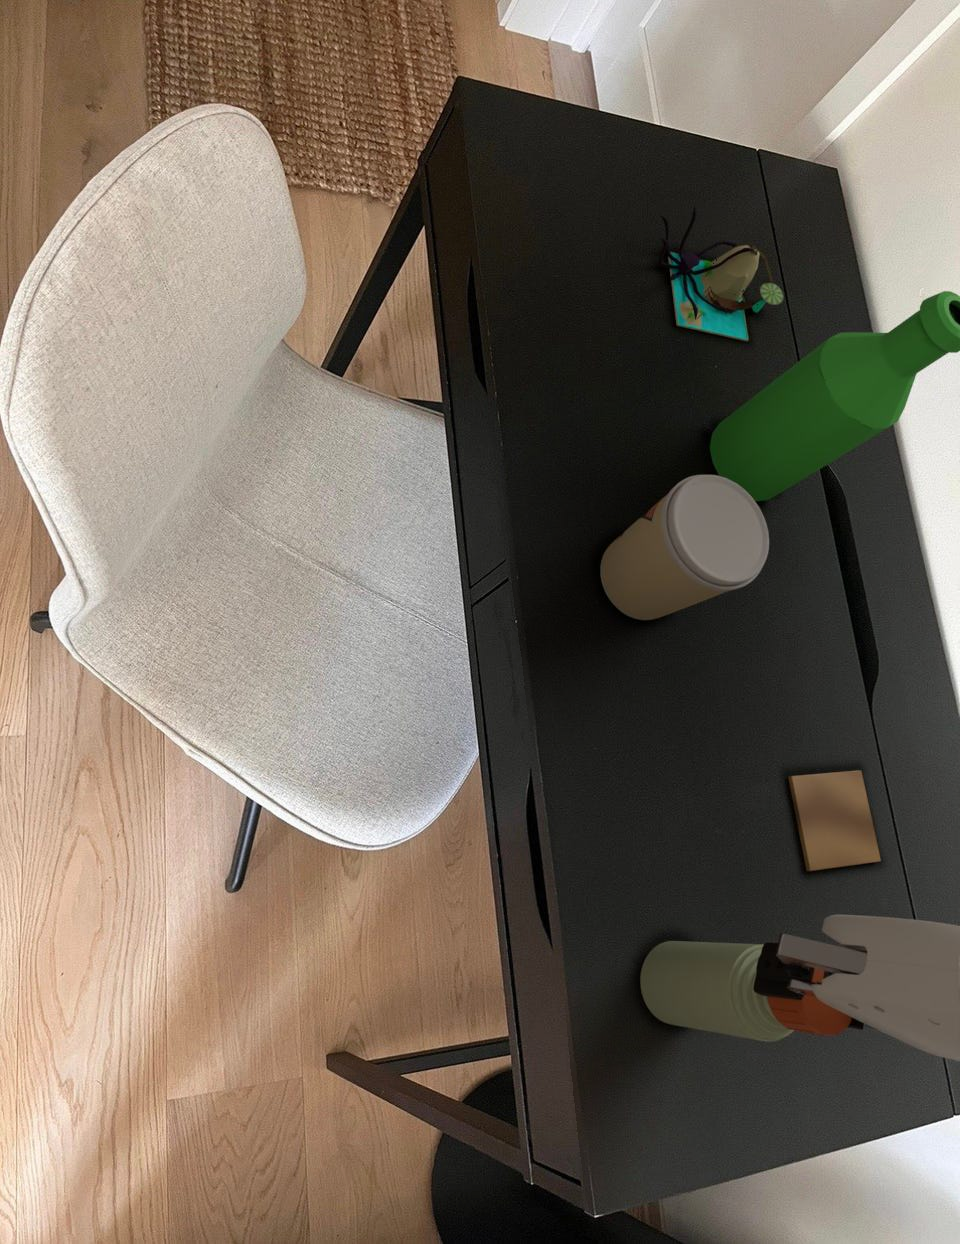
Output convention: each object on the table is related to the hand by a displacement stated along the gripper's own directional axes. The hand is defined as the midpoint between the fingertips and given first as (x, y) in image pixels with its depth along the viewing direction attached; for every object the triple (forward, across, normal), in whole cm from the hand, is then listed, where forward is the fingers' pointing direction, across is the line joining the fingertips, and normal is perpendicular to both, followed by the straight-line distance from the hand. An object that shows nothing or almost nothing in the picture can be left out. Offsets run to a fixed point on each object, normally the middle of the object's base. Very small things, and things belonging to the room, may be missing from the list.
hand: (792, 982), depth 59 cm
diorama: (+13, +17, -63) cm, 67 cm away
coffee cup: (+13, +13, -29) cm, 35 cm away
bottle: (+13, +7, -46) cm, 49 cm away
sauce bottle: (+13, 0, +1) cm, 13 cm away
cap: (0, 0, +1) cm, 1 cm away
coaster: (+13, -11, -18) cm, 25 cm away
